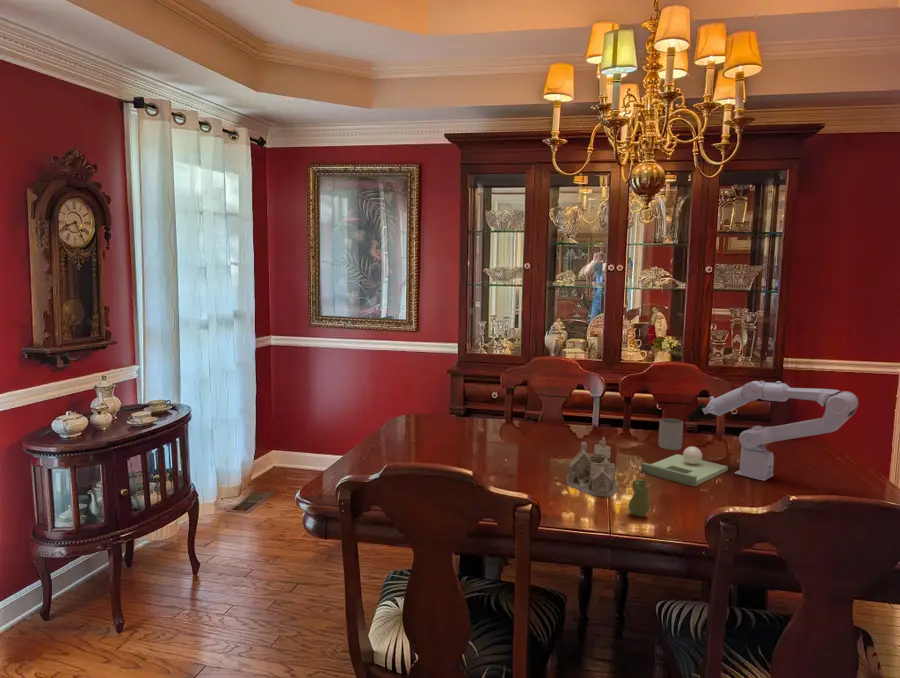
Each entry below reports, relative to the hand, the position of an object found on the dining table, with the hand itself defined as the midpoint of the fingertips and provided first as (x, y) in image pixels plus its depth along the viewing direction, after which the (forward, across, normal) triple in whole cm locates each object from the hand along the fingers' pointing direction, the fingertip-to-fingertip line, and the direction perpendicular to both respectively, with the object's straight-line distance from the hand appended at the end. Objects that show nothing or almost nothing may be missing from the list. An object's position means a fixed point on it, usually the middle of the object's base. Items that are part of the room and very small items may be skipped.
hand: (694, 417), depth 218 cm
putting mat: (+5, +13, +16) cm, 21 cm away
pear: (-2, +59, +22) cm, 63 cm away
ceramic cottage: (+16, +49, +10) cm, 53 cm away
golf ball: (+3, +8, +12) cm, 15 cm away
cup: (+20, -11, +6) cm, 24 cm away
